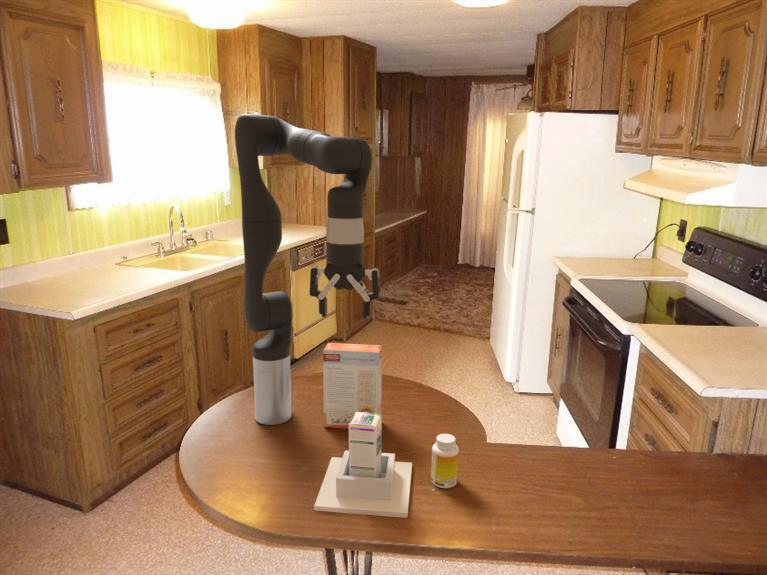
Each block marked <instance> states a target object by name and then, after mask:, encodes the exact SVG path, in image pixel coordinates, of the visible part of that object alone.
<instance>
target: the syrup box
mask: <svg viewBox="0 0 767 575" xmlns="http://www.w3.org/2000/svg"><path fill="white" fill-rule="evenodd" d="M382 419H383V418H382V413H381V414H376V413H368V412H355V415H354V416H353V418H352V419H351V421H350V423H349V429H348V450H349V476H358V477H372V478H381V461H382V459H381V458H382V453H383V452H382V442H383V441H382V438H383V437H382V427H383V426H382V424H383V423H382Z"/></svg>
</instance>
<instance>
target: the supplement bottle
mask: <svg viewBox="0 0 767 575" xmlns="http://www.w3.org/2000/svg"><path fill="white" fill-rule="evenodd" d="M456 442H457V439H456V437H455V436H454V435H453V434H450V433H441V434H438V435H437V436H436V440H435V443H434V444H433V445H432V449H431V466H430V467H431V470H430V471H431V472H430V481H431V483H432V484H433V485H434V486H435V487H438V488H439V489H440V488H441V489H450V488H453V487H455V486H456V485H457V483H458V477H459V476H458V472H459V457H460V456H459V455H460V450H459V446H458V445H457V443H456Z"/></svg>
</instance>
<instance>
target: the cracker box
mask: <svg viewBox="0 0 767 575" xmlns="http://www.w3.org/2000/svg"><path fill="white" fill-rule="evenodd" d="M382 349H383V344H382V345H378V344H362V343H341V342H340V343H339V342H338V343H337V342H328V343H327V344H326V346H325V347H324V348H323V349H322V356H323V357H322V358H323V359H322V363H323V364H322V365H323V366H322V367H323V368H322V372H323V374H322V376H323V378H322V379H323V386H322V387H323V391H322V392H323V427H324V428H333V429H348V430H349V423H350V421H351V419H352V418H353V416H354V415H355V412H368V413H376V414H381V415H382V380H383V379H382V378H383V377H382V374H383V373H382V372H383V370H382V367H383V363H382V362H383V361H382V360H383V359H382V358H383V350H382Z"/></svg>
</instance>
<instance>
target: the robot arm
mask: <svg viewBox="0 0 767 575" xmlns="http://www.w3.org/2000/svg"><path fill="white" fill-rule="evenodd" d="M234 143H235V144H234V146H235V150H236V151H235V152H236V158H237V166H238V167H237V168H238V172H239V173H238V174H239V180H240V183H239V184H240V195H241V196H240V197H241V198H240V200H241V228H242V238H243V239H242V240H243V242H242V244H243V253H244V254H243V257H244V293H243V294H244V296H243V297H244V300H243V302H244V304H243V308H244V320H245V324H246V325H247V328H248V329H249V331H251V332H252V333H258V332H266V331H269V332H268V333H267V334H266V335H265V336H263V337H262V338H260V339H258V340H257V341H255V343H254V344H253V345H252V367H253V369H252V370H253V371H252V372H253V390H254V391H253V392H254V393H253V395H254V418H255V421H256V422H257V423H259V424H262V425H267V426H274V425H280V424H283V423H287V422H288V421H289V420H290V419H291V418H292V395H291V394H292V393H291V389H292V386H291V382H292V381H291V345H292V326H293V310H292V309H293V306H292V302H291V299H290V297H289V295H288V294H287V293H286V292H284V291H281V290H280V291H271V292H263V291H264V290H263V288H264V280H265V277H266V273H267V271H268V269H269V267H270V265H271V263H272V261H273V259H274V258H275V256H276V254H277V252H278V250H279V248H280V246H281V243H282V240H283V228H282V226H283V225H282V224H283V223H282V212H281V210H280V207H279V205H278V203H277V201H276V200H275V198H274V197H273V195H272V193H271V192H270V190H269V189H268V187H267V185H266V184H265V182H264V179H263V177H262V174H261V173H262V172H261V170H260V163H259V157H273V156H277V155H280V156H281V155H291V156H292V158H293V159H295V160H296V161H298V162H300V163H302V164H305V165H310V166H314V167H315V168H317V169H318V170H320V171H321V172H323V173H325V174H330V175H344V178H343V180H342V183H341V184H339V185H337V186H334V187H331V188H330V189H329V190H328V193H327V202H326V203H327V212H326V213H327V219H326V220H327V221H326V228H325V232H326V234H325V240H326V243H325V244H326V245H325V246H326V248H325V249H326V250H325V251H326V252H325V253H326V254H325V255H326V256H325V258H326V259H325V260H326V261H325V262H326V264H325V267H319V266H318V265H314V266H312V268H311V269H310V275H309V276H310V277H309V296H310V297H314V298H317V300H318V313H319V315H321V317H322V318H327V316H328V297H327V295H328V293H329V292H330V291H331V290H332V289H333V288H335V289H336V290H347V291H352V290H354V289H355V291H356V292H357V293H358V294H359V295H360V296H361V298H362V299H363V301H362V320H367V318H368V317H370V315H371V312H372V306H371V305H372V300H377V299H379V297H380V295H381V291H380V290H381V288H380V287H381V286H380V270H379V268H378V267H375V268H373V269H366V268H365V264H364V257H365V256H364V251H365V249H364V246H365V244H364V243H365V242H364V240H365V239H364V238H365V237H364V236H365V231H364V230H365V227H364V220H363V219H364V218H363V217H364V215H363V214H364V212H363V211H364V200H363V199H364V195H365V191H366V187H367V184H368V180H369V176H370V173H371V168H372V163H373V153H372V150H371V149H372V148H371V146H370V145H369V143H368V142H367V141H366V139H364V138H361V137H355V136H354V137H353V136H334V135H333V136H332V135H331V134H329V133H327V132H323V131H319V130H314V129H309V128H301V127H297V126H295V125H292V124H291V123H288V122H287V121H285V120H283V119H281V118H279V117H276V116H274V115H268V114H267V115H266V114H253V113H243V114H241V115H239V116H238V117H237V118H236V122H235V124H234ZM323 274H324V275H325V277H326V279H327V280H328V283H326V285H325V286H324V287H323V289H322V290H319V279H320V278H321V277H322V275H323ZM365 276H367V277H368V279H369V280H370V281H371V286H372V292H369V290H368V289H367V288H366V285H365V283H364V282H363V279H364V277H365Z"/></svg>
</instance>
